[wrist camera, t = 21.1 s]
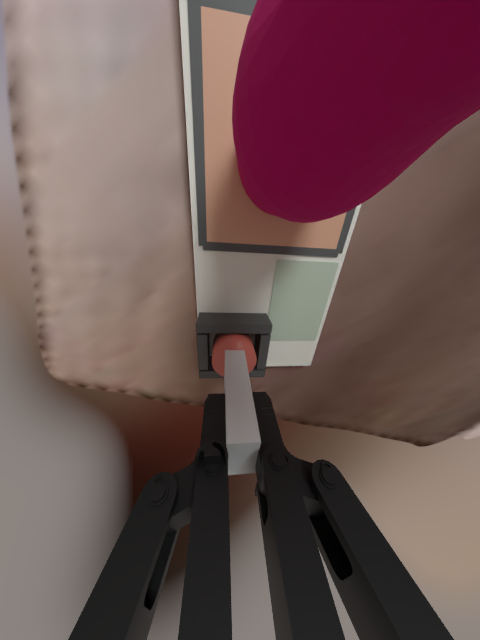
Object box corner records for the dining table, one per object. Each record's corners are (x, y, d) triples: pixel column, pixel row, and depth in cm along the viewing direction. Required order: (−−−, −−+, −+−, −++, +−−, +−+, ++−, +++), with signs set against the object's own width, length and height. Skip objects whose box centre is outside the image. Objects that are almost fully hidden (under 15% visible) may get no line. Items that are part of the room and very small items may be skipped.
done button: (253, 327, 15) (258, 343, 13) (250, 359, 17) (254, 377, 15) (212, 327, 15) (211, 343, 13) (213, 359, 17) (211, 378, 15)
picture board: (411, 6, 9) (494, -92, 6) (306, 359, 20) (320, 380, 17) (179, -46, 8) (156, -196, 5) (201, 360, 19) (197, 383, 16)
